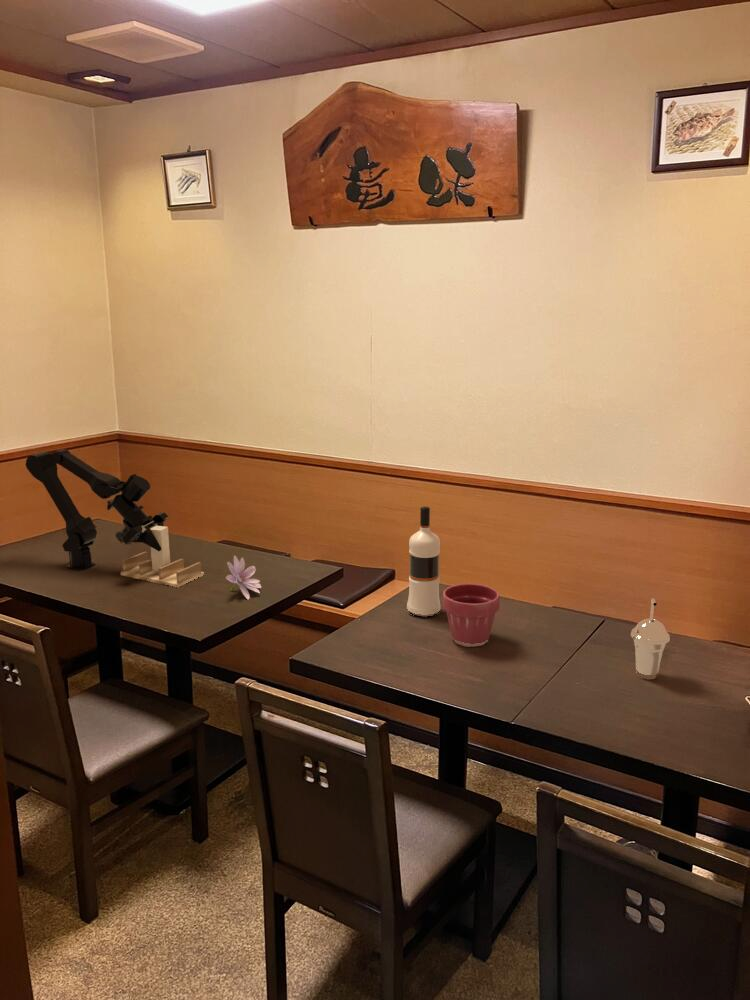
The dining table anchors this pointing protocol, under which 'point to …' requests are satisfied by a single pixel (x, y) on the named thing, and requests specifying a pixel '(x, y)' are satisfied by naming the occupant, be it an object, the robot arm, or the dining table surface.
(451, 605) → the plant pot
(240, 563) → the water lily
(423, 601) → the vodka
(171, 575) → the drying rack
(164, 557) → the clay bar
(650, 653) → the cup with straw
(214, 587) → the dining table surface
